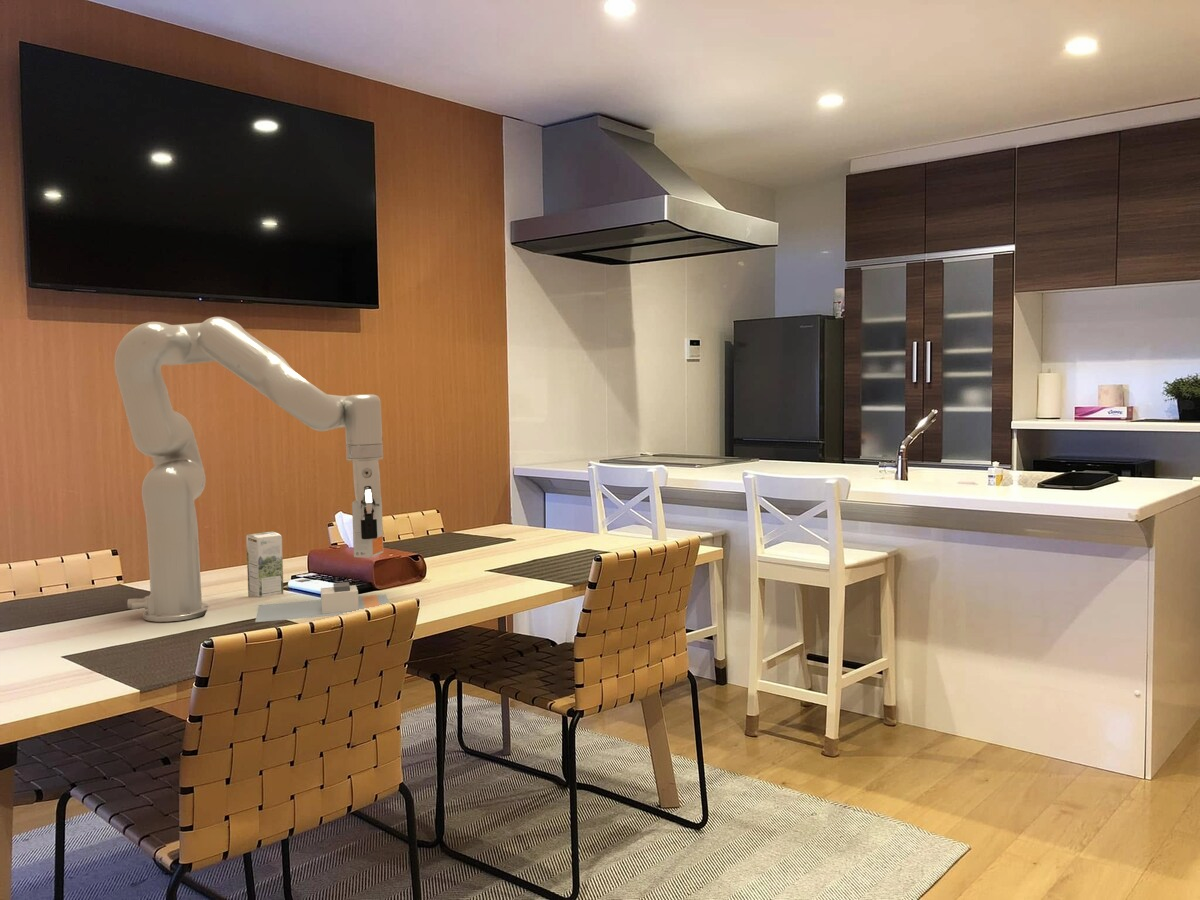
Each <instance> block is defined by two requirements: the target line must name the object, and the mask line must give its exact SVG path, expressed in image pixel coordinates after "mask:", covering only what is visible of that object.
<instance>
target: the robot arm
mask: <svg viewBox="0 0 1200 900" xmlns="http://www.w3.org/2000/svg"><path fill="white" fill-rule="evenodd" d="M210 362H216V363H217V364H219V365H220V366H222V367H223V368H225V369H227V370H228V371H230V372H231V373H233V374H234V375H236V376H237V377H238V378H240V379H241V380H243V381H244V382H245V383H247V384H248V385H249V386H251V387H253V388H254V389H255V390H256V391H258V393H260V394H261V395H263V396H265V397H266V398H268V399H269V400H270V401H272V402H273V403H274V404H276V405H277V406H279V408H281V409H282V410H284V412H286V413H287V414H290V416H292V417H294V418H295V419H297V420H298V421H299V422H301V423H303V424H304V425H305V426H307V427H309V428H310V429H312V430H314V431H317V432H326V431H330V430H334V429H339V428H344V429H345V431H344V433H345V451H346V461H347V462H352V476H353V489H354V497H355V501H357V504H358V506H359V507H360V508H361V512H362V520H361V537H362V539H376V538H377V519H376V515H375V503H376V504H379V505H378V506H381V505H382V506H383V503H381V498H382V492H381V489H382V488H381V472H380V464H379V460H383V459H384V447H383V446H384V445H383V426H382V424H383V422H382V402H381V399H380V397H379V395H376V394H373V393H372V394H370V393H369V394H368V393H367V394H366V393H365V394H363V393H362V394H350V395H337V394H327V393H326V392H324V391H323V390H321V389H320V388H319V387H317V386H315V385H314V384H312V383H311V382H310V381H308V380H307V379H306V378H305V377H303V376H302V375H300V374H299V372H296V371H295V370H294V369H293V368H292V367H291V366H290V365H289V362H287V360H286V359H285V358H284V357H283V356H282V355H280V354H279V353H278V352H276V350H273V349H271V347H269V346H267V345H265V344H264V343H263V342H262V341H260V340H258V339H257V337H254V336H253V335H251V333H249V332H248V331H246V330H245V329H244V327H243V325H240V324H239V323H238V322H237V321H235V320H232V319H230V318H226V317H223V316H213V317H210V318H209V317H208V318H207V319H205V320H204V321H203V322H195V323H186V324H185V323H184V324H169V323H166V322H162V321H147V322H145V323H141V324H139V325H137V326H136V327H134V328H132V329H131V330H129V331H128V332H127V333H126V334H125V335H124V336H123V338H122V339H121V340H120V341H119V343H118V346H117V348H116V350H115V355H114V372H115V377H116V380H117V384H118V387H119V392H120V395H121V399H122V402H123V407H124V411H125V415H126V418H127V422H128V426H129V429H130V434H131V437H132V441H133V444H134V447H135V448H136V449H137V450H138V451H139V452H140V453H141V454H143V455H144V456H147V457H151V459H152V460H151V461H152V463H153V467H152V468H151V469H149V471H148V472H147V474H146V475H145V477H144V479H143V480H142V481H143V482H142V485H141V499H142V504H143V510H144V515H145V522H146V523H145V524H146V538H147V549H148V552H147V553H148V554H147V555H148V568H149V569H148V571H149V587H150V594H149V595H147V596H144V597H143V598H128V599H127V609H129V610H130V609H132V610H140V609H144V610H145V611H143V613H142V615H143V616H142V617H143V618H142V619H144V620H145V621H147V622H148V621H149V622H155V623H157V622H158V623H159V622H160V623H161V622H163V623H165V622H167V623H168V622H170V623H171V622H178V621H185V620H191V619H195V618H199V617H203V616H205V615H206V613H207V611H208V609H209V608H210V607H211V606H210V604H209V603H205V602H203V601H202V600H203V599H202V582H201V562H200V561H201V560H200V543H199V540H200V539H199V525H198V516H197V511H196V505H195V500H196V499H198V498H200V496H201V495H202V493H203V492H204V490H205V487H206V480H207V479H206V478H207V477H206V473H205V468H204V465H203V461H202V457H201V454H200V450H199V446H198V443H197V440H196V435H195V431H194V430H193V429H194V428H193V427H192V425H191V423H190V422H189V420H188V418H187V417H186V416H184V415H183V414H181V413H180V412H177V411H176V410H174V408H173V406H172V402H171V399H170V395H169V390H168V387H167V385H166V382H165V380H164V377H163V375H162V366H180V365H189V364H191V365H192V364H198V363H200V364H201V363H210ZM374 501H375V502H374ZM364 503H366V505H363V504H364ZM372 503H373V505H372ZM364 513H365V514H364Z"/></svg>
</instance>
